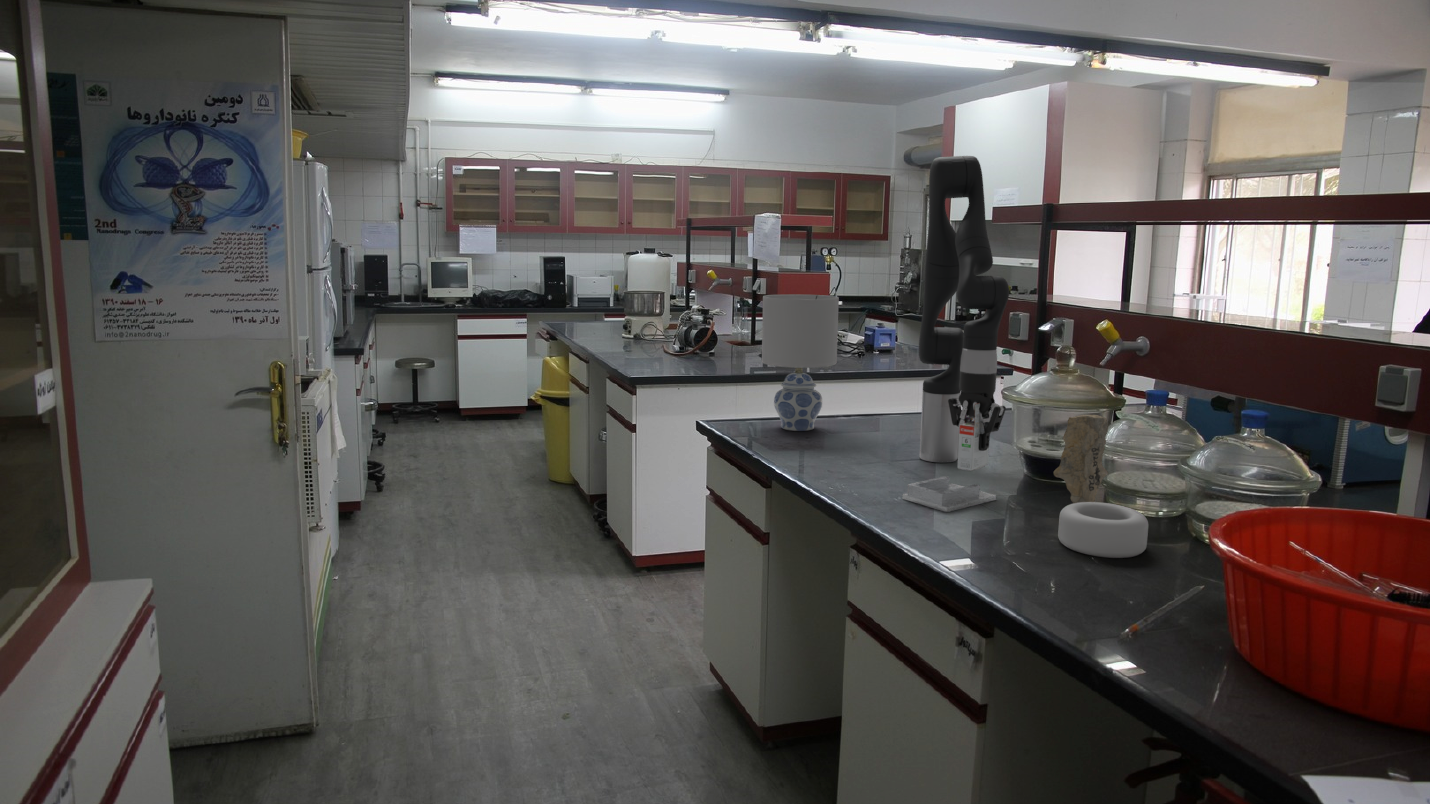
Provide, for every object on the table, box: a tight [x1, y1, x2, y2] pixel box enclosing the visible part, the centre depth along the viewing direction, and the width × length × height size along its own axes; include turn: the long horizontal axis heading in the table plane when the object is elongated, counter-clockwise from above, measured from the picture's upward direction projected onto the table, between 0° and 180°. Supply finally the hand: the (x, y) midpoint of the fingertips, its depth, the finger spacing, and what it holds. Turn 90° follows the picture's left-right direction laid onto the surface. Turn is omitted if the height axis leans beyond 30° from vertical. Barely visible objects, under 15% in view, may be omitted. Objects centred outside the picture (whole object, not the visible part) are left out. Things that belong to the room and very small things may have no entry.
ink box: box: [957, 403, 992, 472], centre depth 203 cm, size 4×8×15 cm, turn 139°
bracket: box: [902, 475, 997, 513], centre depth 200 cm, size 16×12×4 cm
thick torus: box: [1057, 501, 1149, 559], centre depth 171 cm, size 15×15×7 cm
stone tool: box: [1053, 414, 1109, 504], centre depth 193 cm, size 12×6×20 cm, turn 96°
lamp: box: [761, 293, 840, 432], centre depth 270 cm, size 22×22×38 cm
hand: (973, 447), depth 203 cm, fingers closed on ink box, 4 cm apart
